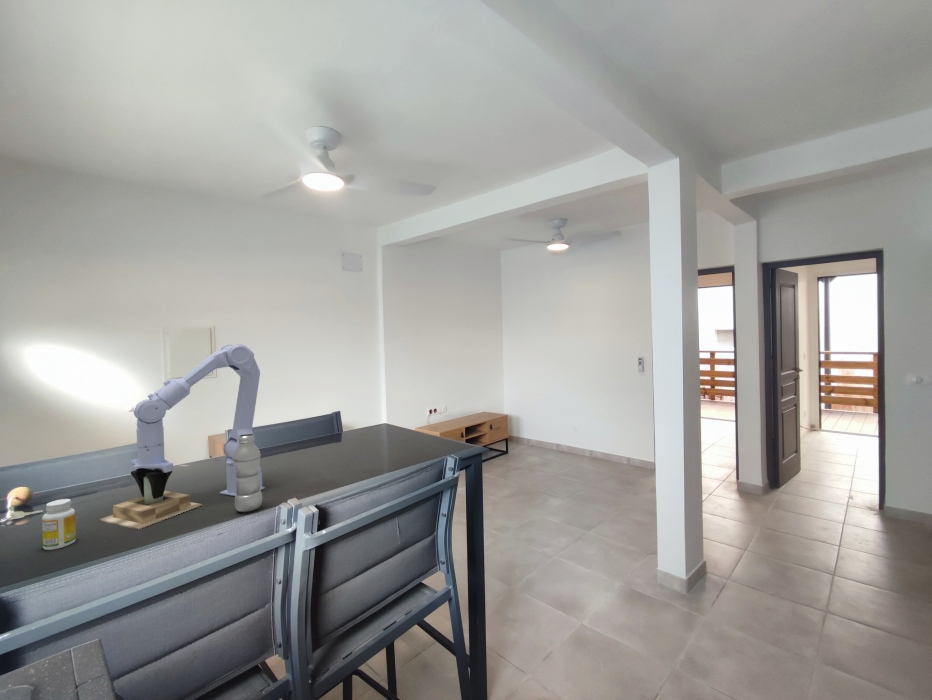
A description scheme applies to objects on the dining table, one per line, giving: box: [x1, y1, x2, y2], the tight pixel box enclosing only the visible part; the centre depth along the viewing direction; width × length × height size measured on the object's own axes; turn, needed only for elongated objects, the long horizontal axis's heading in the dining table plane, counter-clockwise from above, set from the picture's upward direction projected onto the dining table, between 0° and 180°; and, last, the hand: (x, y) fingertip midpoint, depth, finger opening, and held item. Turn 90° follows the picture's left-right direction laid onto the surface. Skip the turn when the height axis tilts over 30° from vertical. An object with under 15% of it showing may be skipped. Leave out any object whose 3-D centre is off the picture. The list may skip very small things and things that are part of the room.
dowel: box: [144, 476, 163, 506], centre depth 112 cm, size 4×4×8 cm
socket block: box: [98, 490, 204, 531], centre depth 112 cm, size 16×16×3 cm
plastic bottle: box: [233, 433, 263, 513], centre depth 112 cm, size 6×7×20 cm
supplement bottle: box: [41, 498, 77, 551], centre depth 95 cm, size 5×5×10 cm
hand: (152, 496), depth 112 cm, fingers closed on dowel, 4 cm apart
